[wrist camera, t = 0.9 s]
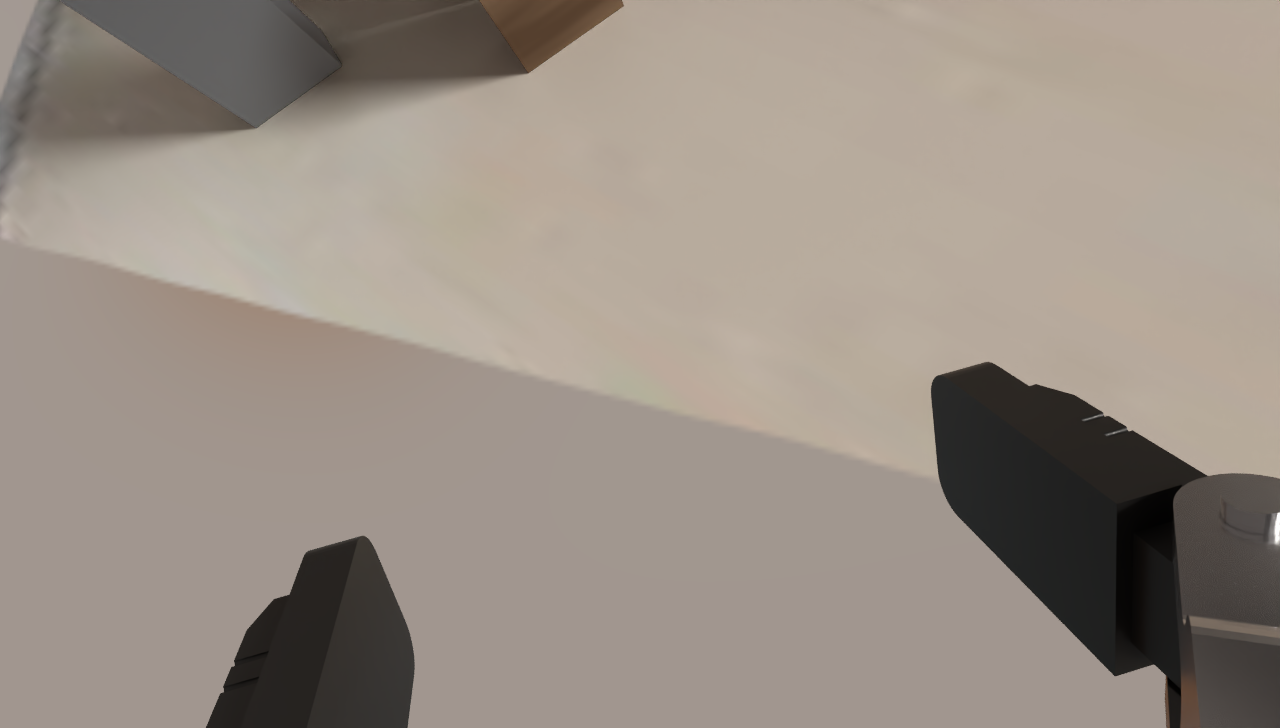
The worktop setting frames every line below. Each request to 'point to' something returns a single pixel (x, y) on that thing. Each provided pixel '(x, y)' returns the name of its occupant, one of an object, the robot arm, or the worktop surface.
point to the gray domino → (224, 47)
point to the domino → (546, 24)
